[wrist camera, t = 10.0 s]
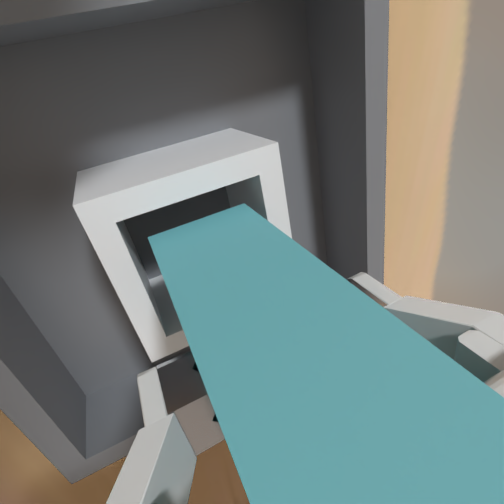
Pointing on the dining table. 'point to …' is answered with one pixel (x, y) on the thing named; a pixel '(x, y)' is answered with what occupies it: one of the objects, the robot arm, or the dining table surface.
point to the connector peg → (324, 376)
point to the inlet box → (165, 180)
